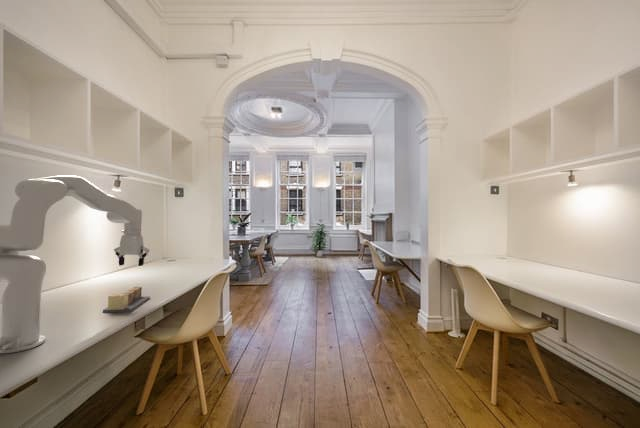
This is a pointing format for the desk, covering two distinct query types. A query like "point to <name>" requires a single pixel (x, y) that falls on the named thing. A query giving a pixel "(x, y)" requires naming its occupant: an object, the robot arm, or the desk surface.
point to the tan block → (117, 301)
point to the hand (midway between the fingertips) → (131, 265)
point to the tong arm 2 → (134, 294)
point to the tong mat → (130, 305)
